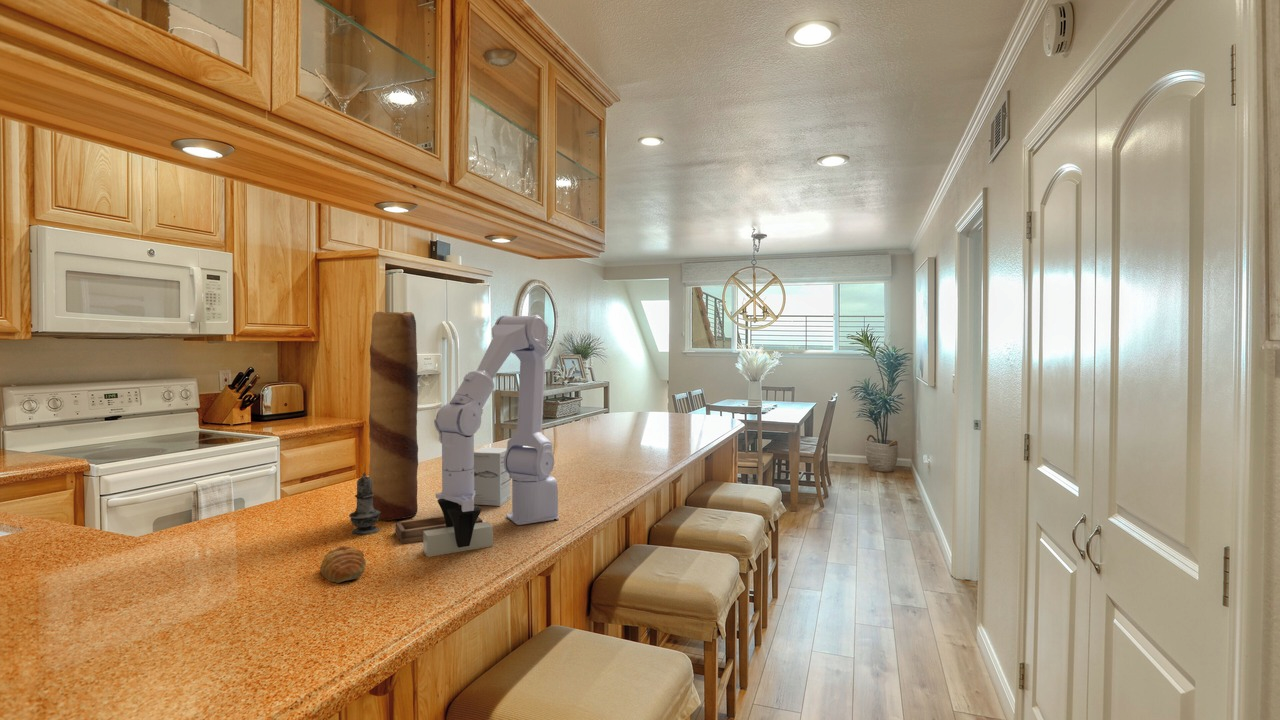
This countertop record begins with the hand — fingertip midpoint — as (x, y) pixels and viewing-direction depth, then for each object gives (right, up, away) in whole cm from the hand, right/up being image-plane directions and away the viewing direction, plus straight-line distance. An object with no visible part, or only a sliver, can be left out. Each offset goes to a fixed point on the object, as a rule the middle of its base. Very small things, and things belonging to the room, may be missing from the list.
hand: (458, 540), depth 117 cm
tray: (-7, -1, +10) cm, 12 cm away
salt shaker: (-22, -1, +11) cm, 24 cm away
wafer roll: (-20, -1, +22) cm, 30 cm away
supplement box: (-2, -1, +34) cm, 34 cm away
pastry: (-15, -2, -12) cm, 20 cm away
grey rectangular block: (0, -2, 0) cm, 2 cm away
